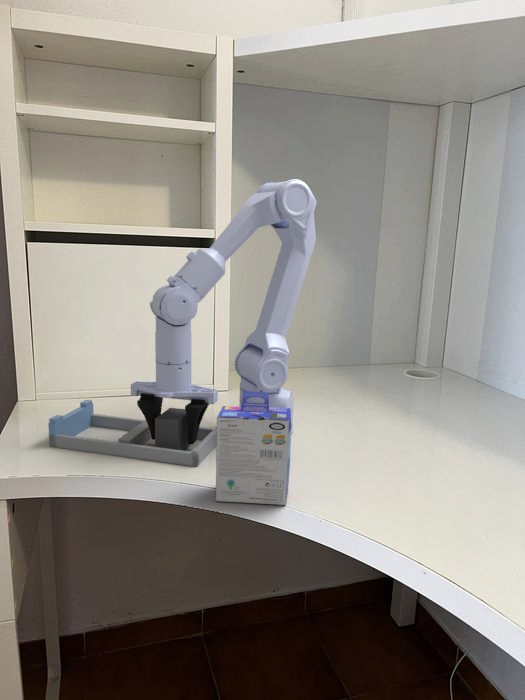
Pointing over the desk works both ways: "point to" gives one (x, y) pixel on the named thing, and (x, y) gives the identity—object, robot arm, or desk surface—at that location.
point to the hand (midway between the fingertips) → (174, 440)
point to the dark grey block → (172, 430)
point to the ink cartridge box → (253, 452)
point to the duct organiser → (128, 444)
